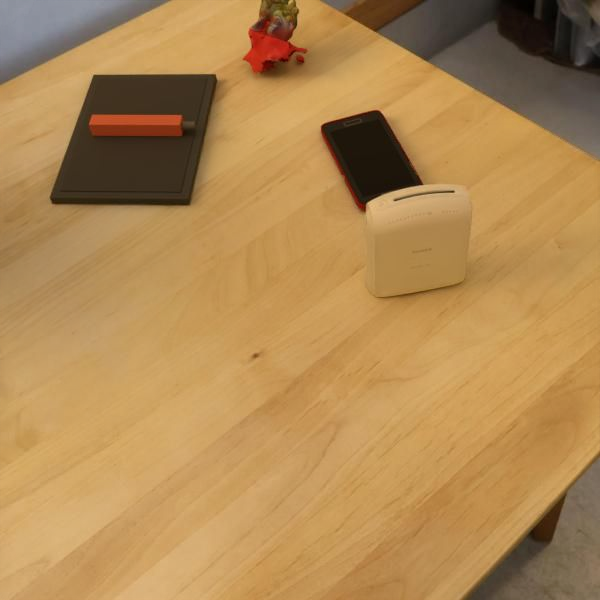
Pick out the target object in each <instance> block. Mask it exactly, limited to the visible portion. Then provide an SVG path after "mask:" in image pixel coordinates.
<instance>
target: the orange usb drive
mask: <svg viewBox="0 0 600 600" xmlns="http://www.w3.org/2000/svg"><path fill="white" fill-rule="evenodd" d="M89 127H90V130H91V132H92V135H93V136H182V135H183V131H184V130H196V122H195V121H183V117H182V115H92V117H91V120H90V122H89Z"/></svg>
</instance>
